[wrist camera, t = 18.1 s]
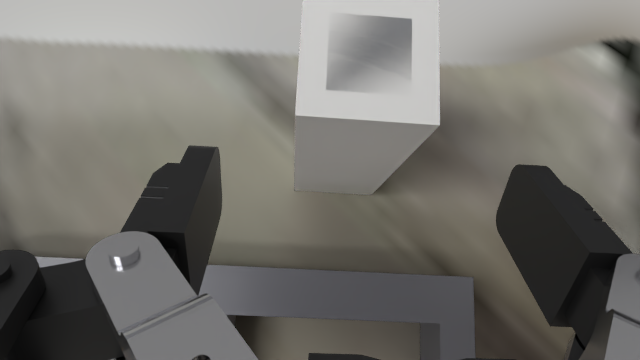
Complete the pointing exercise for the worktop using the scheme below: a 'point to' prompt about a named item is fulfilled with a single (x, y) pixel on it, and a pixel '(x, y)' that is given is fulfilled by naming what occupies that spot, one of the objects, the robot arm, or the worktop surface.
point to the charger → (364, 91)
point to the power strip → (348, 300)
